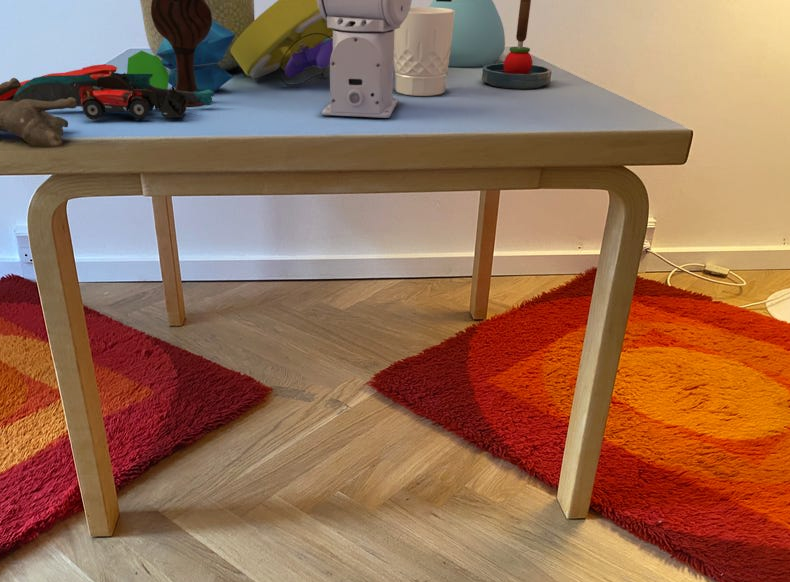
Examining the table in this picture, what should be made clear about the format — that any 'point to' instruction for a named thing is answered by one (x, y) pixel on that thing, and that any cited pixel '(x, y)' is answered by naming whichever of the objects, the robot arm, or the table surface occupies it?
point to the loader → (126, 98)
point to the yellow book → (279, 36)
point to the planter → (227, 8)
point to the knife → (64, 88)
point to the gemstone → (149, 68)
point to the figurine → (183, 35)
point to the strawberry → (520, 45)
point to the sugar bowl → (474, 32)
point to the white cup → (423, 51)
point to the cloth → (84, 71)
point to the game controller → (309, 58)
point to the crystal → (202, 59)
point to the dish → (516, 77)
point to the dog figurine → (33, 118)
